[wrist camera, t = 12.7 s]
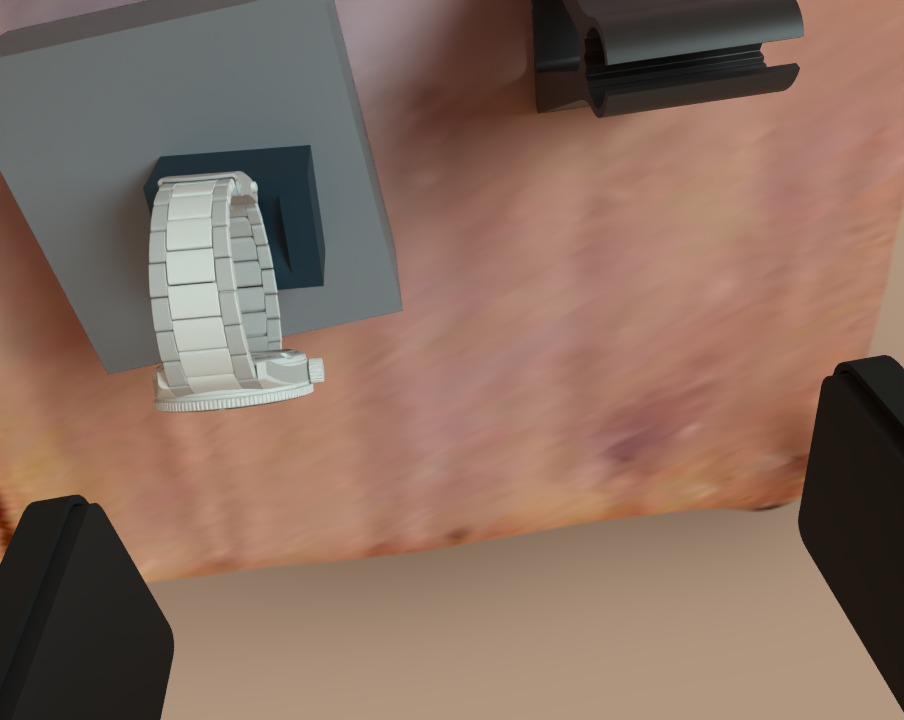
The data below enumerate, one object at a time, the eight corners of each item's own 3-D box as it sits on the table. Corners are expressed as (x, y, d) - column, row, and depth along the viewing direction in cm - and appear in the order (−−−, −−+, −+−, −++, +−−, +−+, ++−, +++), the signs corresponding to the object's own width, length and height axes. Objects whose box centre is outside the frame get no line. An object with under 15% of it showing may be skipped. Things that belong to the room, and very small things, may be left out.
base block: (7, 31, 32) (-54, 69, 27) (324, -39, 32) (320, -13, 27) (137, 305, 40) (107, 374, 35) (395, 249, 39) (402, 311, 34)
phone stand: (665, 92, 37) (783, 193, 27) (535, 110, 36) (606, 218, 26) (675, -138, 32) (826, -121, 22) (524, -119, 31) (607, -92, 21)
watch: (197, 303, 33) (141, 485, 24) (148, 108, 29) (56, 241, 20) (333, 291, 34) (329, 465, 24) (306, 96, 29) (288, 221, 20)
